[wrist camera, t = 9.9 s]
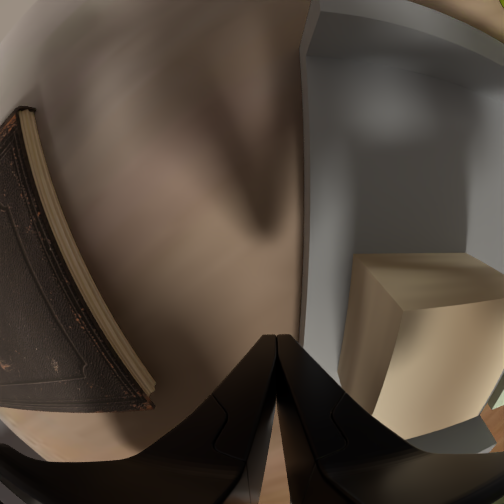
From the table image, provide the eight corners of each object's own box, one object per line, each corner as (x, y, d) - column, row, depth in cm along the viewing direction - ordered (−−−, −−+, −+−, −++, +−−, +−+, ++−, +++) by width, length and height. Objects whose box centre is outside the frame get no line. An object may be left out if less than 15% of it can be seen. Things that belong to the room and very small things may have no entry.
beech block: (337, 371, 10) (357, 449, 7) (353, 253, 9) (403, 310, 5) (437, 358, 10) (477, 416, 6) (465, 252, 9) (532, 292, 5)
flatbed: (288, 444, 14) (290, 505, 10) (299, 48, 8) (316, -18, 4) (465, 411, 13) (489, 452, 9) (529, 111, 8) (584, 109, 3)
